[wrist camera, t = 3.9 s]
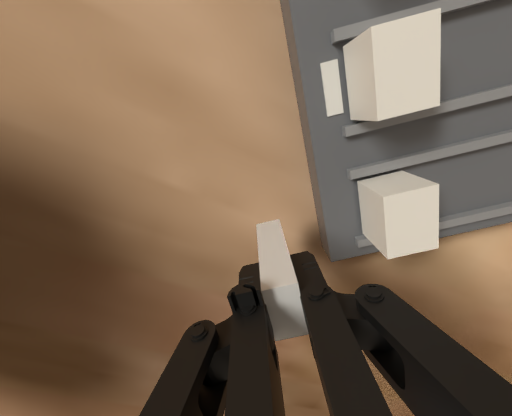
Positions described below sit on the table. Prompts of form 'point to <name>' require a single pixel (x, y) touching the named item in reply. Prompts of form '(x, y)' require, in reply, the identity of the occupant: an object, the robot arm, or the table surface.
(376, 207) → the switch
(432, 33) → the switch middle
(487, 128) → the switch panel
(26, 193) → the table surface
